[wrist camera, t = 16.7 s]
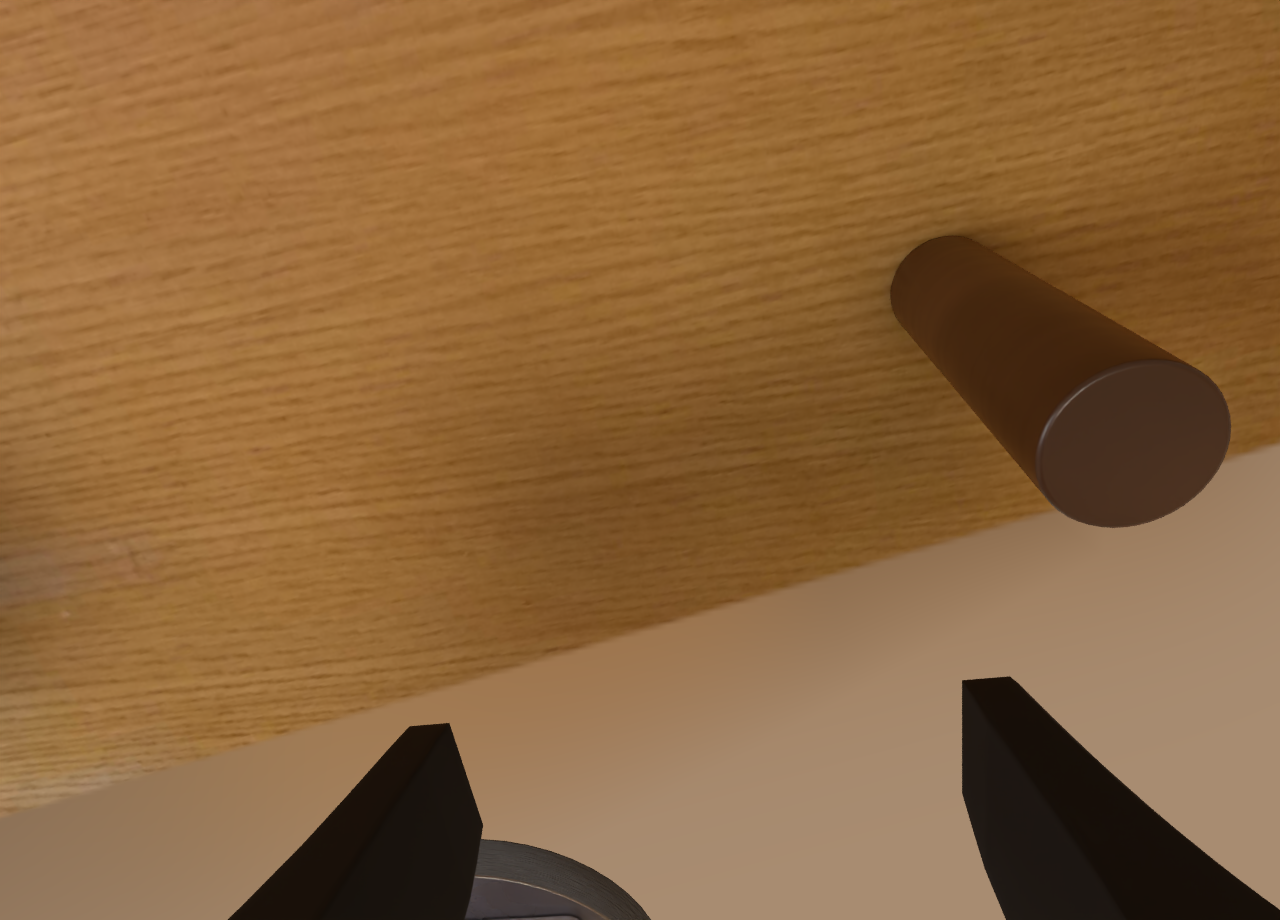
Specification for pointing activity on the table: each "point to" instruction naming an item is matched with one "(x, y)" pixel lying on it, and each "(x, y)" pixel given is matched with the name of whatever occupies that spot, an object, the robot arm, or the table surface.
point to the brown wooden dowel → (1064, 385)
